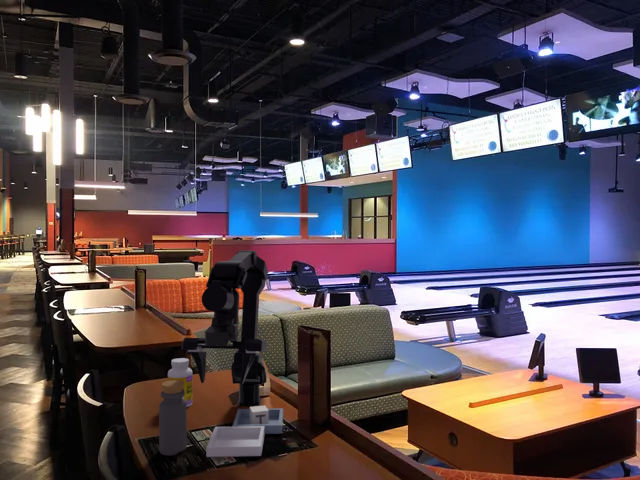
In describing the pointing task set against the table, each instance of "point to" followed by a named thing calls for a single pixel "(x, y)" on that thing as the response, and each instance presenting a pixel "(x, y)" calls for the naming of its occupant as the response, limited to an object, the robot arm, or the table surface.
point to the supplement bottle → (182, 377)
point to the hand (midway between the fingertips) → (222, 383)
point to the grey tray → (236, 441)
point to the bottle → (172, 418)
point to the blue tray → (271, 428)
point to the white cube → (259, 415)
